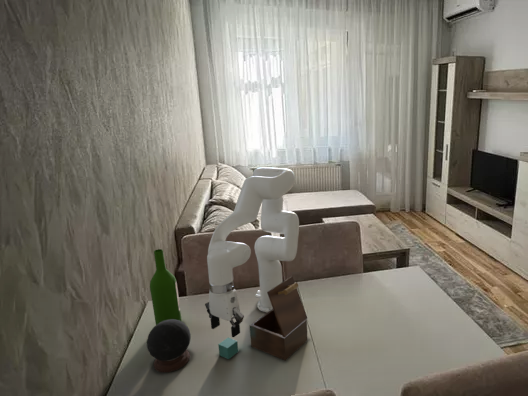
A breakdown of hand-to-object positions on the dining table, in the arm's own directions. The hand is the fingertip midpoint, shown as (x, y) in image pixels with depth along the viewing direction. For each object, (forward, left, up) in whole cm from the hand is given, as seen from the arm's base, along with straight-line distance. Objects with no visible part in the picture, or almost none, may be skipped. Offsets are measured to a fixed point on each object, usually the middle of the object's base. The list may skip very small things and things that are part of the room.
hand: (225, 331), depth 132 cm
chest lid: (+16, +14, +7) cm, 22 cm away
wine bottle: (-32, +1, -10) cm, 34 cm away
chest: (+12, +14, -10) cm, 20 cm away
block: (0, +1, -10) cm, 10 cm away
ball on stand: (-14, -11, -10) cm, 21 cm away
